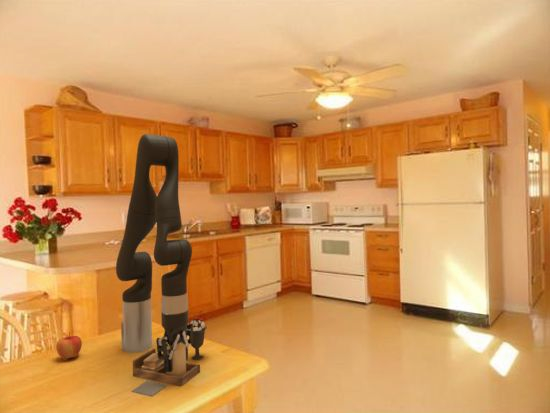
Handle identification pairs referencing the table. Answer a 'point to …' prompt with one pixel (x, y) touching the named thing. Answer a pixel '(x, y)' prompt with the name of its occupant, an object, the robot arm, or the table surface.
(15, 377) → the table surface
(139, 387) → the coaster
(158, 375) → the tray
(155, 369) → the offcut lower
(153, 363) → the offcut upper
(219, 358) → the table surface
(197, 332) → the sundae
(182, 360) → the candle
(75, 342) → the apple
